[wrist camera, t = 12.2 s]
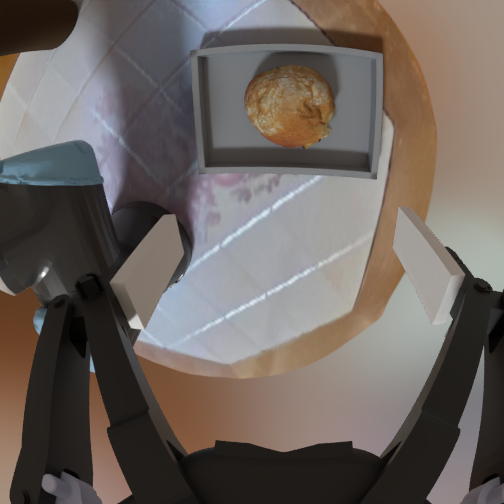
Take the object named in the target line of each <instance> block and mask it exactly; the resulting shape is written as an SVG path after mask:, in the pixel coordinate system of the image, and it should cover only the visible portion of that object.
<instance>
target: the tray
mask: <svg viewBox="0 0 504 504" xmlns="http://www.w3.org/2000/svg"><path fill="white" fill-rule="evenodd" d="M190 55H191V76H192V93H193V108H194V121H195V134H196V146H197V157H198V167H199V174H223V173H273V174H306V175H325V176H341V177H355V178H366V179H377V171H378V162H379V152H380V140H381V126H382V106H383V54H382V53H377V52H371V51H365V50H359V49H352V48H344V47H334V46H323V45H308V44H251V45H235V46H224V47H215V48H206V49H199V50H192V51H190ZM279 65H301V66H305V67H309V68H312V69H314V70H316V71H317V72H318V73H320V74H321V75H322V76H323V77H324V78H325V79H326V81H327V82H328V83H329V85H330V87H331V89H332V92H333V95H334V103H335V106H336V109H335V113H334V114H333V116H332V118H331V119H330V127H331V128H332V131H331V134H330V135H329V136H328V137H327V138H322V139H321V140H320V142H319V143H316V144H313V145H312V146H310V147H308V148H307V149H303V148H302V146H300V147H296V148H287V147H283V146H281V145H277V144H275V143H273V142H271V141H269V140H268V139H267V138H265V137H264V136H262V134H261V133H260V132H259V131H258V130H257V129H256V128H255V127H254V125H253V124H252V123H251V121H250V120H249V118H248V116H247V114H246V112H245V105H244V96H245V91H246V89H247V86H248V84H249V83H250V81H251V80H252V79H253V78H254V77H255V76H257V75H258V74H260V73H262V72H266V71H268V70H271V69H275V68H276V66H279ZM276 69H277V68H276Z"/></svg>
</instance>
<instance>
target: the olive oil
mask: <svg viewBox="0 0 504 504" xmlns="http://www.w3.org/2000/svg"><path fill="white" fill-rule="evenodd" d="M77 13H78V11H77V6H76V4H75V3H74V2H73V1H71V0H0V56H4V55H9V54H15V53H21V52H28V51H39V50H51V49H54V48H57V47H58V46H60V45H61V44H62V43H63V42H64V41H65V40H66V39H67V38H68V36H69V35H70V33H71V32H72V30H73V28H74V26H75V23H76V20H77Z"/></svg>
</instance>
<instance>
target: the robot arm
mask: <svg viewBox="0 0 504 504" xmlns="http://www.w3.org/2000/svg"><path fill="white" fill-rule="evenodd" d="M103 182H104V179H103V177H102V176H101V175H100V172H99V168H98V164H97V161H96V157H95V153H94V150H93V148H92V147H91V145H90V144H88V143H87V142H85V141H82V140H75V141H69V142H65V143H60V144H56V145H52V146H48V147H44V148H40V149H36V150H32V151H29V152H25V153H22V154H19V155H16V156H13V157H9V158H6V159H3V160H0V290H2V291H4V292H6V293H9V294H11V295H16V294H18V293H20V292H22V291H23V290H25V289H27V288H29V287H32V289H33V290H34V292H35V294H36V296H37V298H38V300H39V302H40V304H41V308H39V309H37V310H36V314H35V316H34V326H35V329H36V330H37V332H38V334H39V340H38V343H37V347H36V351H35V355H34V360H33V364H32V369H31V374H30V379H29V384H28V391H27V397H26V404H25V411H24V421H23V432H22V448H21V451H20V455H19V458H18V461H17V465H16V468H15V472H14V476H13V480H12V484H11V488H10V501H11V504H102V501H101V499H100V498H99V497H98V496H97V493H96V491H95V490H94V489H93V465H92V454H91V441H90V423H89V379H90V371H92V372H95V374H96V378H97V381H98V385H99V389H100V392H101V395H102V399H103V402H104V405H105V409H106V412H107V414H108V418H109V421H110V424H111V425H110V427H108V428H107V433H108V437H109V440H110V443H111V445H112V448H113V451H114V453H115V456H116V458H117V461H118V463H119V465H120V468H121V470H122V472H123V474H124V477H125V479H126V481H127V483H128V486H129V488H130V490H131V492H132V495H131V496H129V497H127V498H126V499H124V500H123V501H121V502H120V503H118V504H431V503H430V502H429V501H428V500H427V499H426V498H427V496H428V494H429V493H430V491H431V489H432V488H433V486H434V484H435V483H436V481H437V479H438V478H439V476H440V474H441V472H442V470H443V469H444V467H445V465H446V463H447V461H448V459H449V457H450V455H451V452H452V451H453V449H454V447H455V444H456V442H457V440H458V437H459V435H460V429H459V428H458V424H459V421H460V419H461V416H462V414H463V411H464V408H465V406H466V403H467V400H468V397H469V395H470V392H471V389H472V386H473V382H474V379H475V376H476V373H477V369H478V365H479V362H480V358H481V354H482V350H483V346H484V361H485V362H484V366H485V367H484V394H483V406H482V416H481V425H480V431H479V438H478V444H477V449H476V454H475V459H474V463H473V469H472V473H471V479H470V486H469V493H468V494H467V495H466V496H465V497H464V499H463V501H462V502H461V503H460V504H504V290H503V292H497V291H493V290H492V287H491V286H490V284H488V282H486V281H484V280H483V279H480V278H474V276H473V275H472V274H471V272H470V271H469V270H468V268H467V267H466V266H465V264H463V262H462V260H461V259H459V257H458V256H457V254H456V253H455V252H454V251H453V250H451V249H450V248H449V247H444V246H443V245H442V243H441V242H440V241H439V240H438V239H437V237H436V236H435V235H434V234H433V232H432V231H431V230H430V229H429V228H428V227H427V225H426V224H425V223H424V222H423V221H422V220H421V218H420V217H419V216H418V215H417V214H416V213H415V212H414V211H413V210H412V209H411V207H399V209H398V217H397V224H396V230H395V236H394V242H393V249H394V251H395V253H396V255H397V256H398V258H399V260H400V262H401V264H402V265H403V267H404V269H405V271H406V273H407V275H408V277H409V278H410V280H411V282H412V284H413V286H414V288H415V290H416V292H417V294H418V296H419V298H420V300H421V302H422V304H423V306H424V309H425V311H426V313H427V315H428V317H429V319H430V322H431V323H432V325H437V324H444V323H446V320H447V318H448V316H449V314H450V315H451V317H452V318H453V321H452V323H451V325H450V327H449V329H448V331H447V333H446V335H445V337H446V338H445V340H444V343H443V345H442V348H441V350H440V353H439V355H438V357H437V359H436V362H435V364H434V366H433V368H432V371H431V373H430V375H429V377H428V379H427V381H426V383H425V385H424V387H423V389H422V391H421V393H420V395H419V397H418V398H417V400H416V402H415V404H414V406H413V408H412V409H411V411H410V413H409V414H408V416H407V418H406V420H405V421H404V423H403V425H402V426H401V428H400V429H399V431H398V433H397V434H396V436H395V437H394V439H393V440H392V442H391V443H390V444H389V446H388V447H387V448H386V450H385V451H384V452H383V453H382V454H381V456H380V457H378V456H376V455H374V454H372V453H370V452H367V451H365V450H360V449H356V448H353V447H352V441H348V442H336V443H323V444H316V445H313V446H309V447H305V448H301V449H297V450H293V451H289V452H279V451H275V450H271V449H267V448H263V447H260V446H256V445H253V444H250V443H238V442H227V441H218V440H216V442H215V447H213V448H206V449H202V450H199V451H196V452H194V453H191V454H189V455H188V453H187V452H186V451H185V449H184V448H183V447H182V445H181V444H180V442H179V441H178V439H177V438H176V436H175V434H174V432H173V431H172V429H171V427H170V425H169V423H168V421H167V420H166V418H165V416H164V414H163V412H162V410H161V408H160V406H159V404H158V402H157V400H156V399H155V396H154V394H153V392H152V390H151V388H150V386H149V384H148V381H147V379H146V377H145V375H144V373H143V370H142V368H141V366H140V363H139V361H138V359H137V356H136V354H135V352H134V349H133V346H134V344H135V341H136V339H137V337H138V336H139V334H140V332H141V330H142V329H143V330H145V328H146V326H147V324H148V322H149V320H150V318H151V316H152V314H153V312H154V310H155V308H156V306H157V304H158V302H159V300H160V298H161V296H162V294H163V293H164V292H165V291H167V289H168V288H170V287H172V286H174V285H175V284H177V283H178V282H179V281H180V280H181V278H182V277H183V276H184V274H185V272H186V270H187V268H188V266H189V264H190V261H191V245H190V241H189V238H188V235H187V233H186V231H185V230H184V228H183V226H182V225H181V224H180V222H179V221H178V220H177V219H176V216H175V214H170V213H169V212H168V211H166V210H165V209H163V208H161V207H159V206H157V205H154V204H151V203H146V202H134V203H130V204H127V205H125V206H123V207H122V208H120V209H119V210H118V211H117V212H116V213H114V214H113V215H112V216H111V215H110V211H109V207H108V203H107V200H106V196H105V192H104V188H103Z"/></svg>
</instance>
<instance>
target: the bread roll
mask: <svg viewBox="0 0 504 504" xmlns="http://www.w3.org/2000/svg"><path fill="white" fill-rule="evenodd" d="M276 68H277V69H276ZM276 68H275V69H271V70H268V71H266V72H262V73H260V74H258V75H257V76H255V77H254V78H253V79H252V80H251V81H250V83H249V84H248V86H247V89H246V91H245V96H244V105H245V112H246V114H247V116H248V118H249V120H250V121H251V123H252V124H253V125H254V127H255V128H256V129H257V130H258V131H259V132H260V133H261V134H262V136H264V137H265V138H267V139H268V140H269V141H271V142H273V143H275V144H277V145H281V146H283V147H287V148H296V147H300V146H302V148H303V149H307V148H308V147H310V146H312V145H313V144H316V143H319V142H320V140H321V139H322V138H327V137H328V136H329V135H330V134H331V131H332V128H331V127H330V119H331V118H332V116H333V114H334V113H335V109H336V106H335V103H334V95H333V92H332V89H331V87H330V85H329V83H328V82H327V81H326V79H325V78H324V77H323V76H322V75H321V74H320V73H318V72H317V71H316V70H314V69H312V68H309V67H305V66H301V65H279V66H276Z"/></svg>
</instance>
